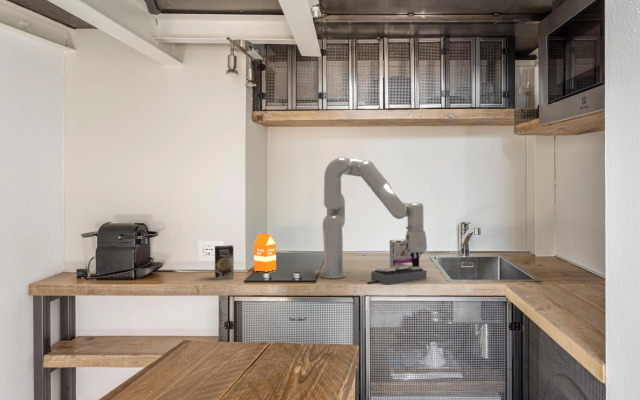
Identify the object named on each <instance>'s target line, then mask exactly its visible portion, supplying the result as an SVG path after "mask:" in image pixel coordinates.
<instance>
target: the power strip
mask: <svg viewBox="0 0 640 400" xmlns="http://www.w3.org/2000/svg"><path fill="white" fill-rule="evenodd" d="M427 273H428V272H427V270H425V269H423V268H421V269H416V270H411V269H409V268H407V269H396V270H395V271H377V269H374V270H372V271H371V276H370V277H371V279H370V281H366V284H367V285H369V284H376V283H379V284H382V285H386V286H387V285H393V284H401V283H407V282H408V281H409V282H414V280H415V281H422V280H427Z"/></svg>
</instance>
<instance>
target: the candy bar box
mask: <svg viewBox="0 0 640 400" xmlns="http://www.w3.org/2000/svg"><path fill="white" fill-rule="evenodd" d="M405 240H406V238H405V239H392V240H389V267H393V266H402V263H408V262H411V263H412V258H411V256H410V255H407V254H406V250H405Z"/></svg>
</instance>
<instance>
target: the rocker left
mask: <svg viewBox="0 0 640 400" xmlns="http://www.w3.org/2000/svg"><path fill="white" fill-rule="evenodd" d="M376 270H377V271H395V270H396V268H394V267H390V266H384V267H377V268H376Z"/></svg>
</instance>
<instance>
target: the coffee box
mask: <svg viewBox="0 0 640 400" xmlns="http://www.w3.org/2000/svg"><path fill="white" fill-rule="evenodd" d="M234 262H235V261H234V245H233V244H232V245H231V244H230V245H215V246H214V279H215V281H221V280H233V279H235V271H234V270H235V269H234V268H235V267H234V266H235V265H234Z"/></svg>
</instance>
